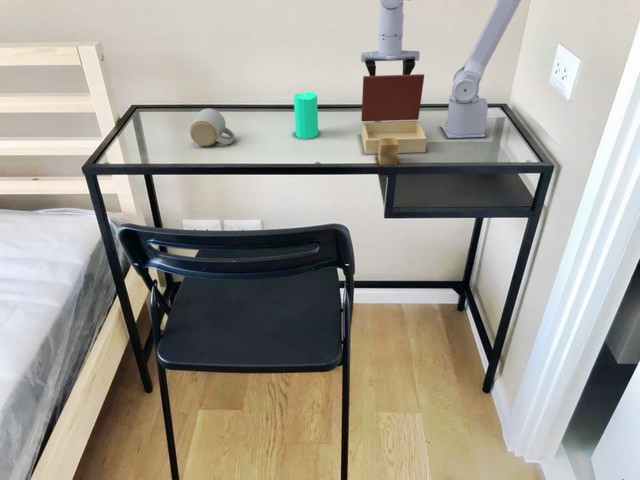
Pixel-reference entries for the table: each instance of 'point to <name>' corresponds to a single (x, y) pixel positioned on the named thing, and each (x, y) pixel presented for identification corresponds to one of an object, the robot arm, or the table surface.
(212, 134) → the ceramic mug
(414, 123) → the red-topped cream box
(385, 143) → the block
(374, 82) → the cover
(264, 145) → the table surface
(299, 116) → the candle
